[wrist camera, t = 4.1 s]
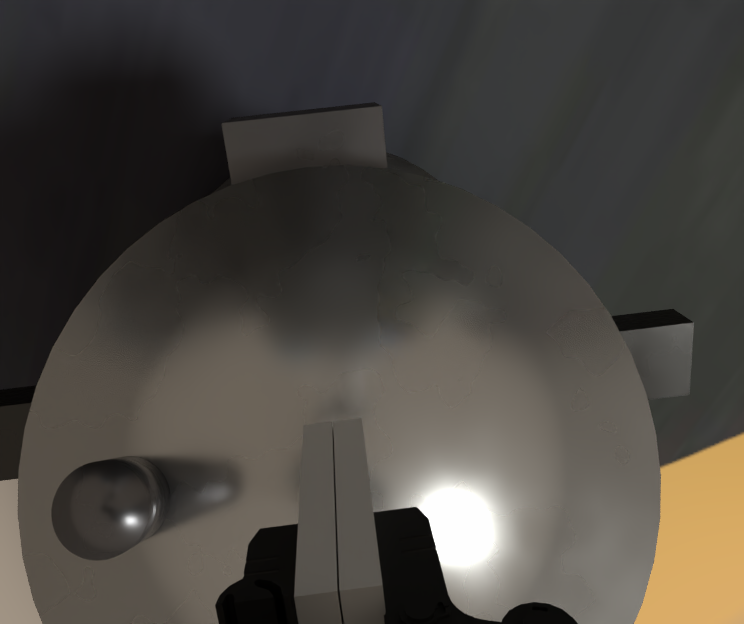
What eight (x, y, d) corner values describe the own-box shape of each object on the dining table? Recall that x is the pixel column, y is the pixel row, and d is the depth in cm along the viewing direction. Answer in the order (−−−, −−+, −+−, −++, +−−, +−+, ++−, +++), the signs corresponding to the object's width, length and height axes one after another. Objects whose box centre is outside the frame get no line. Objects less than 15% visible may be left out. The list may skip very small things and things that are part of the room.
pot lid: (718, 887, 19) (789, 981, 16) (62, 985, 18) (1, 1104, 15) (589, 149, 22) (627, 105, 19) (22, 212, 21) (-36, 178, 18)
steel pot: (19, 132, 32) (-145, 163, 21) (588, 71, 33) (728, 68, 22) (111, 481, 38) (24, 651, 27) (587, 421, 39) (695, 562, 28)
